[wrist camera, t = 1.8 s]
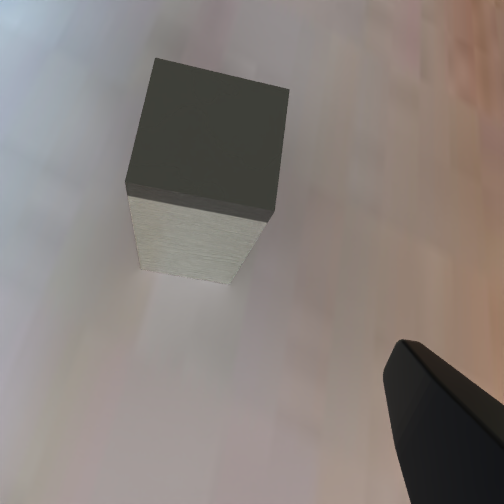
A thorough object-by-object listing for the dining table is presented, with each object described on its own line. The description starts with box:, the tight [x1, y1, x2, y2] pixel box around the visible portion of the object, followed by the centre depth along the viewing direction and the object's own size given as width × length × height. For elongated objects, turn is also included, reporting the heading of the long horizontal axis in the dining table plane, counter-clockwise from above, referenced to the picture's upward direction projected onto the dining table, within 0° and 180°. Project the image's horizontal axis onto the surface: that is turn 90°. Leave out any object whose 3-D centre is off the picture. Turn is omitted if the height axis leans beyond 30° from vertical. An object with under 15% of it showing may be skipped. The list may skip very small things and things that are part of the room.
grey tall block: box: [125, 58, 289, 285], centre depth 19 cm, size 4×4×10 cm
